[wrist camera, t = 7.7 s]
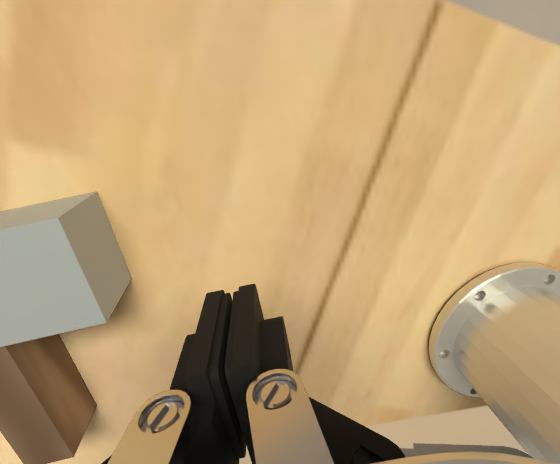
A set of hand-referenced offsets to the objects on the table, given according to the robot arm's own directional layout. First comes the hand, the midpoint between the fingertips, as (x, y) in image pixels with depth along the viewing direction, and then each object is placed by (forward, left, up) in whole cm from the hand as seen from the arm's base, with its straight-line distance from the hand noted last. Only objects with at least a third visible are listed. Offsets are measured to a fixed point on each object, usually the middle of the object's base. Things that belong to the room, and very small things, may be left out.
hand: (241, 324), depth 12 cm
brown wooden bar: (+15, +4, -11) cm, 19 cm away
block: (+11, -1, -11) cm, 15 cm away
